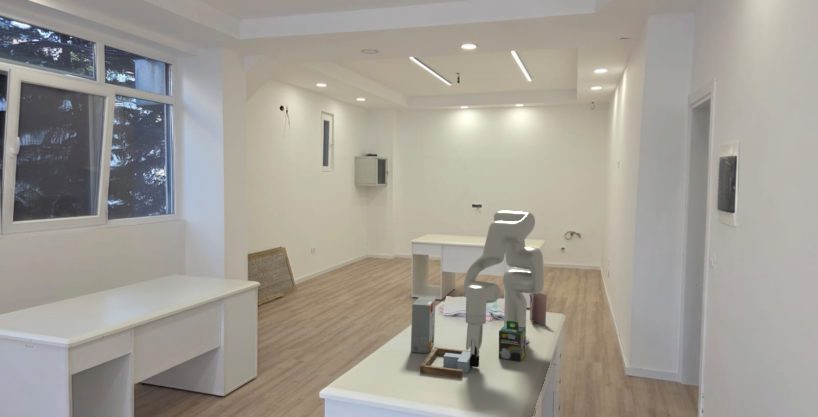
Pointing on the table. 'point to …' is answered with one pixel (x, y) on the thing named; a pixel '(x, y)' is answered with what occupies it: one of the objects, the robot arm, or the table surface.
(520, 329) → the chalk box
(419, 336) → the hard drive box
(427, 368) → the walnut bay
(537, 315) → the greeting card
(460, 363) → the tee block
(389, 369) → the table surface
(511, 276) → the robot arm
